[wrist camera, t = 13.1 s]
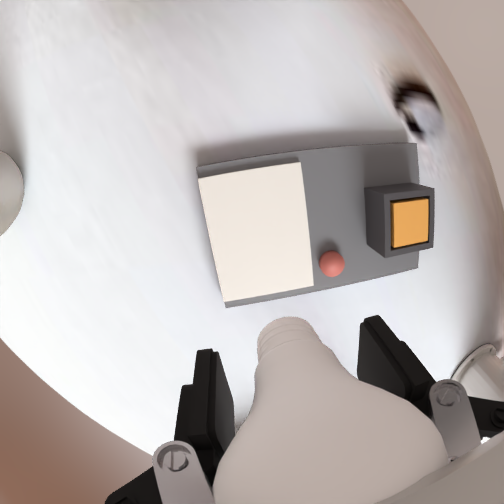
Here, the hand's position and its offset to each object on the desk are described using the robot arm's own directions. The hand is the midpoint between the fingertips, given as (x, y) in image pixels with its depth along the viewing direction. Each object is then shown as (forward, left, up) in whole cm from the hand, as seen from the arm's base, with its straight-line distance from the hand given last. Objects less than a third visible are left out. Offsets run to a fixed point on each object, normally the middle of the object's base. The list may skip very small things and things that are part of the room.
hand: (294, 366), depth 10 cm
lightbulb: (0, 0, -3) cm, 3 cm away
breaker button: (-14, 0, -16) cm, 21 cm away
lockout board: (-7, 0, -19) cm, 20 cm away
